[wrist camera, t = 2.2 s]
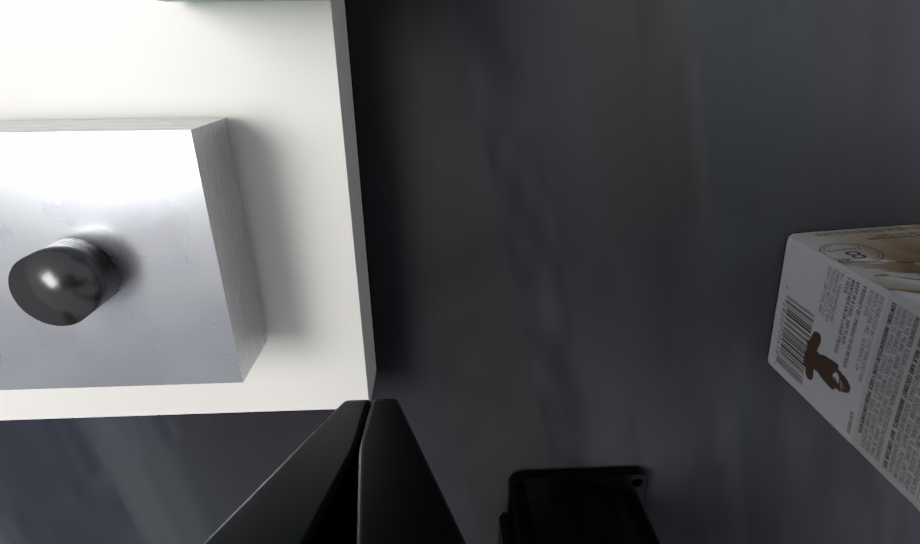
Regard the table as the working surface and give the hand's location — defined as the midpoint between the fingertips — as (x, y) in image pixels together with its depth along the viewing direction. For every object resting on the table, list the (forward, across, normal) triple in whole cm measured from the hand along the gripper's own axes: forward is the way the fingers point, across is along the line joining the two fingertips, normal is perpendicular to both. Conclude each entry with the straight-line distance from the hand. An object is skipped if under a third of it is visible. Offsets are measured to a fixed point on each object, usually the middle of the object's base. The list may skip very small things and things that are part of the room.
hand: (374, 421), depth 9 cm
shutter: (+9, +9, 0) cm, 13 cm away
